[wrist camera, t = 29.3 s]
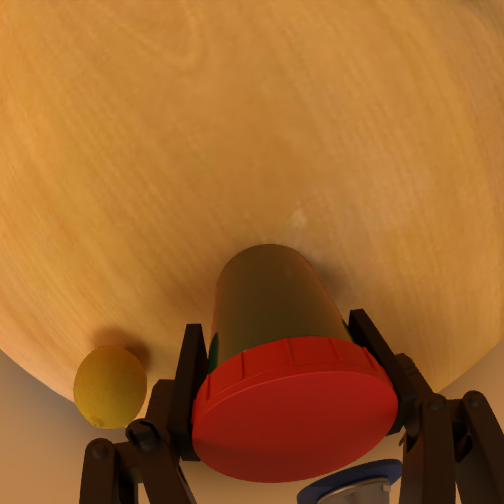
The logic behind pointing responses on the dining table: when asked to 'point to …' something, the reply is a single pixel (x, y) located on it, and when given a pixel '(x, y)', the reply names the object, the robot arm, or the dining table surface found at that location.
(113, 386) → the lemon
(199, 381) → the robot arm
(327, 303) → the jar
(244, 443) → the cap
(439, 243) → the dining table surface
